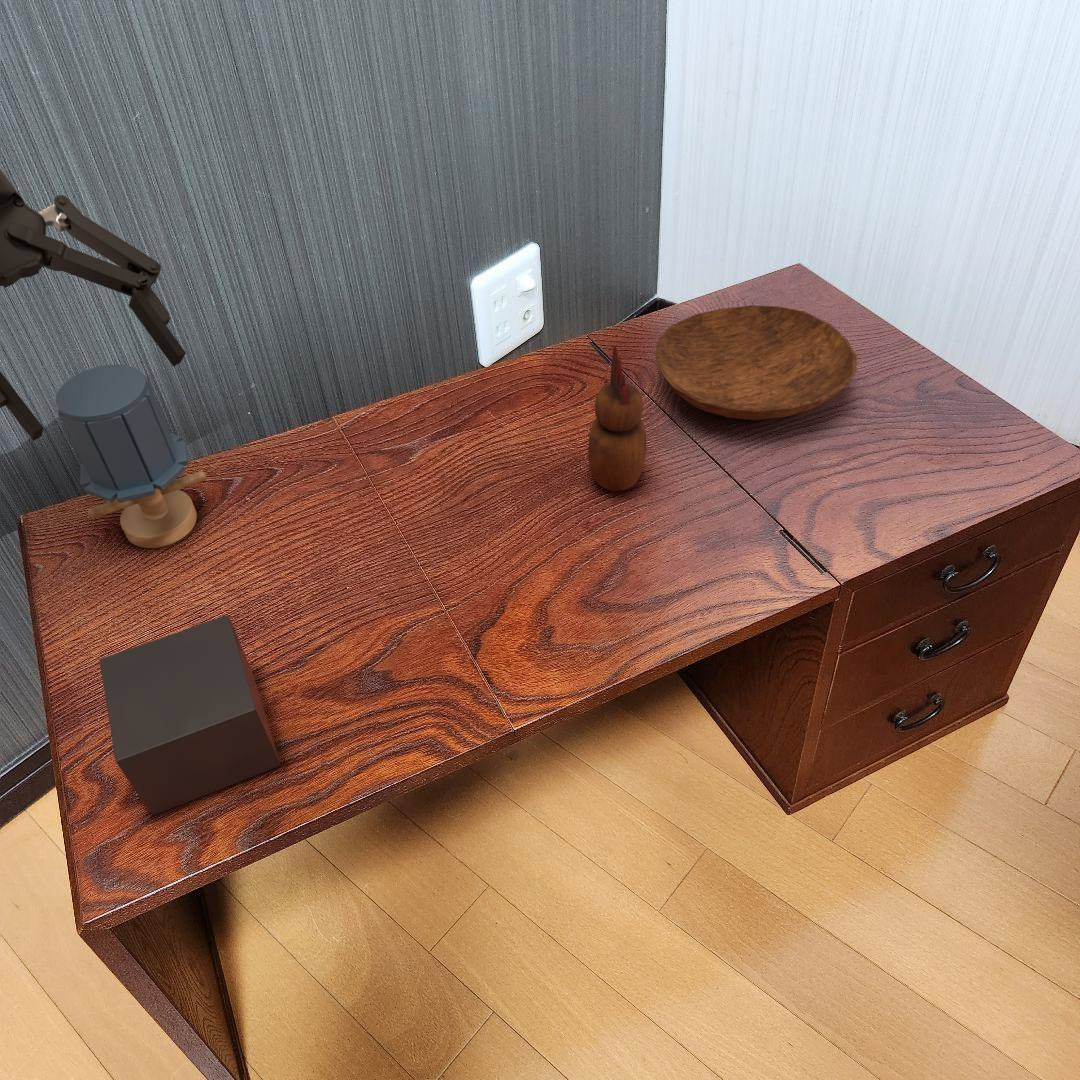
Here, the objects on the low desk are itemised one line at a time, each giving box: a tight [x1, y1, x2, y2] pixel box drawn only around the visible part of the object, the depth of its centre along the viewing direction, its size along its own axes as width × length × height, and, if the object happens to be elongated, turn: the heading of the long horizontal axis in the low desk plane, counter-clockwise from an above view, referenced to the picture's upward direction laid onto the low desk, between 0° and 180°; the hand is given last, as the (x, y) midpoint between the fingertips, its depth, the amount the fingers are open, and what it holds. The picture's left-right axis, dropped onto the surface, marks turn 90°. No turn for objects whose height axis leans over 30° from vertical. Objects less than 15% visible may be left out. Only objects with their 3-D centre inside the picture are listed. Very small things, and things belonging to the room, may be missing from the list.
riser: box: [99, 614, 282, 817], centre depth 73 cm, size 10×10×8 cm
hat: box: [55, 363, 189, 503], centre depth 85 cm, size 10×10×9 cm
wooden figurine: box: [587, 344, 647, 492], centre depth 91 cm, size 7×6×15 cm
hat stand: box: [87, 471, 208, 549], centre depth 88 cm, size 11×7×16 cm, turn 118°
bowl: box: [654, 304, 858, 421], centre depth 104 cm, size 20×22×5 cm
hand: (112, 395), depth 80 cm, fingers open, 13 cm apart
